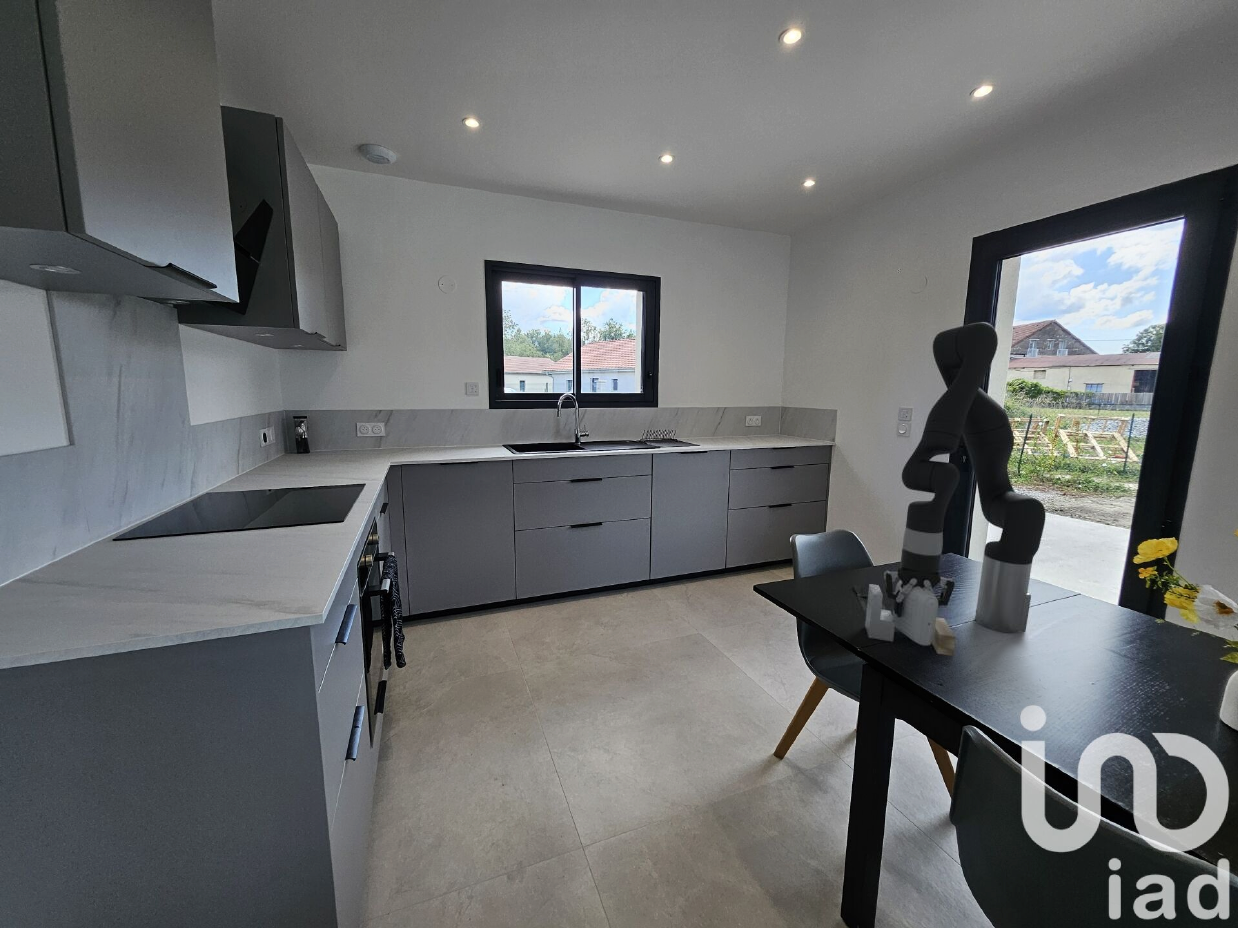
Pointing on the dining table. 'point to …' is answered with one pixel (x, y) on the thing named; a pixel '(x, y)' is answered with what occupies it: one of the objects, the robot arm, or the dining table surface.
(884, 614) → the clamp jaw
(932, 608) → the rounded stone tablet
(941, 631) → the block
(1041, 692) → the dining table surface
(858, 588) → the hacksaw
